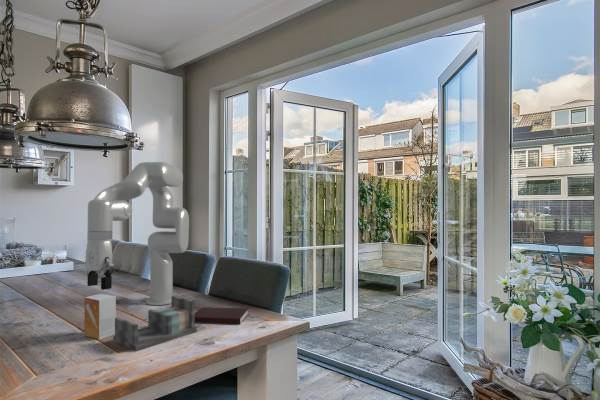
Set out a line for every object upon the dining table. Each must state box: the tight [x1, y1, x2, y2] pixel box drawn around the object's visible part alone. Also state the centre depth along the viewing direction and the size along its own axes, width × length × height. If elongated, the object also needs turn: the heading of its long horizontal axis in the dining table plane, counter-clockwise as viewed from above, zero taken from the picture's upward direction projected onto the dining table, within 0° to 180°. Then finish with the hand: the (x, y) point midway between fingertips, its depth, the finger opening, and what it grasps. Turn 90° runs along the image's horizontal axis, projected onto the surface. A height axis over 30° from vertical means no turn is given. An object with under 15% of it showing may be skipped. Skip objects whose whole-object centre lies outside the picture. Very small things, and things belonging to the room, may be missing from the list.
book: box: [195, 306, 249, 326], centre depth 147 cm, size 12×19×3 cm, turn 83°
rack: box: [112, 295, 197, 352], centre depth 128 cm, size 14×22×10 cm, turn 142°
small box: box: [83, 293, 117, 341], centre depth 129 cm, size 8×6×13 cm
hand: (99, 287), depth 129 cm, fingers open, 9 cm apart
